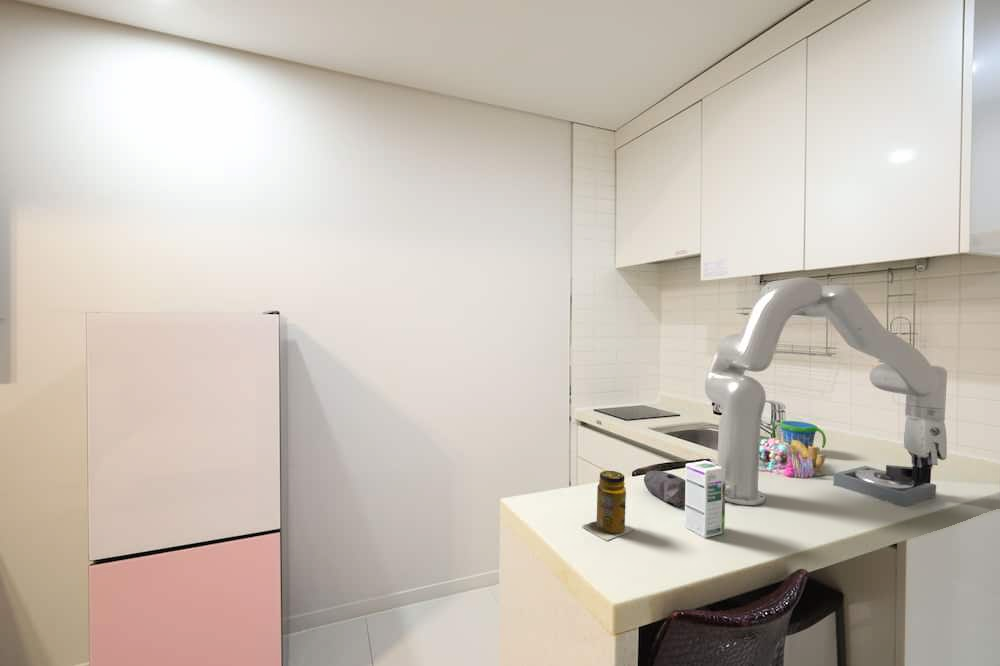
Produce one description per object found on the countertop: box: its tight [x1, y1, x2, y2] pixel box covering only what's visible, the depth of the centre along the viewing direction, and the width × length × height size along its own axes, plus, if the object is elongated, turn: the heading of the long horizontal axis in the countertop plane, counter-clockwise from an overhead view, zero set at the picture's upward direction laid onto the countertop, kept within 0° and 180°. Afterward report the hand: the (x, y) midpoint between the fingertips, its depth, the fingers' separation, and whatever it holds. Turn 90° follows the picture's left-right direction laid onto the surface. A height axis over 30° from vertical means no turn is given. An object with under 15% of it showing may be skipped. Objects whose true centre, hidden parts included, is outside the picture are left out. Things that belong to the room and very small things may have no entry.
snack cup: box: [771, 420, 827, 449], centre depth 155 cm, size 16×10×10 cm
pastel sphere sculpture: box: [759, 437, 826, 479], centre depth 142 cm, size 25×24×9 cm
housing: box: [833, 465, 937, 508], centre depth 122 cm, size 16×16×3 cm
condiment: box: [581, 470, 634, 542], centre depth 97 cm, size 7×8×12 cm
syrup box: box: [684, 460, 726, 539], centre depth 97 cm, size 6×6×14 cm
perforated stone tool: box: [643, 470, 686, 507], centre depth 114 cm, size 15×5×7 cm, turn 22°
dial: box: [855, 464, 914, 491], centre depth 121 cm, size 15×12×5 cm
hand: (920, 481), depth 117 cm, fingers closed
